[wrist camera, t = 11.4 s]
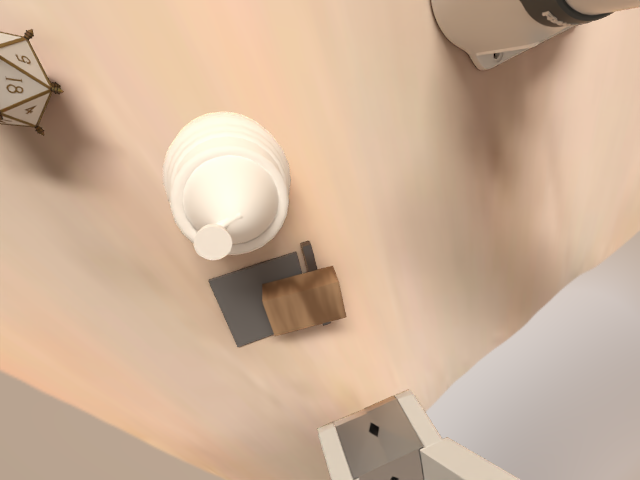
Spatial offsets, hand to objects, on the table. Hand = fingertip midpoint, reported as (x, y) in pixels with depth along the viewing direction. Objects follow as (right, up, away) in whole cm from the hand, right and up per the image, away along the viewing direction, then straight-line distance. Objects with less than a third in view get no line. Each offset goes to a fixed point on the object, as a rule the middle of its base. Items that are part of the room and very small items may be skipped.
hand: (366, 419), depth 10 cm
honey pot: (-12, +14, +29) cm, 35 cm away
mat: (-9, -3, +38) cm, 39 cm away
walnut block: (+1, -2, +36) cm, 36 cm away
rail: (-2, -1, +39) cm, 39 cm away
